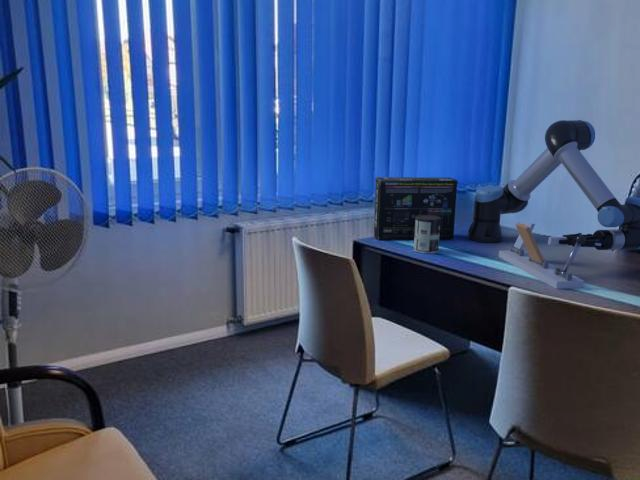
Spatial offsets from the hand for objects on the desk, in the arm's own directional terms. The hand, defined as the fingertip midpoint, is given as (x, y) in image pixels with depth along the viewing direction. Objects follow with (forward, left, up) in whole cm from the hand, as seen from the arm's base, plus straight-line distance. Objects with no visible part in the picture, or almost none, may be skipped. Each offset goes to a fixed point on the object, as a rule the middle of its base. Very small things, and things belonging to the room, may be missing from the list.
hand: (549, 241), depth 202 cm
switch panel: (-2, -3, -11) cm, 12 cm away
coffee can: (-45, -14, -11) cm, 48 cm away
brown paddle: (-2, -3, -8) cm, 8 cm away
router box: (-63, -1, -12) cm, 64 cm away
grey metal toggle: (+11, -10, -8) cm, 17 cm away
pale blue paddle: (-15, +5, -8) cm, 17 cm away
